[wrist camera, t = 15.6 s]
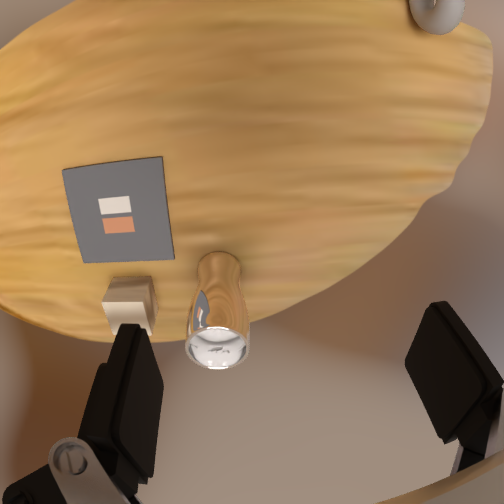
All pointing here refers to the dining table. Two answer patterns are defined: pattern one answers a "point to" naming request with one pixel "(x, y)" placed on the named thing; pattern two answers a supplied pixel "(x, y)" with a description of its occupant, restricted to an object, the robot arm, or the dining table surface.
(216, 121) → the dining table surface
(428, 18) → the donut
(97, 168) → the gray mat
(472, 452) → the robot arm
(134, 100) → the dining table surface
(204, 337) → the beer glass
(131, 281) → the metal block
